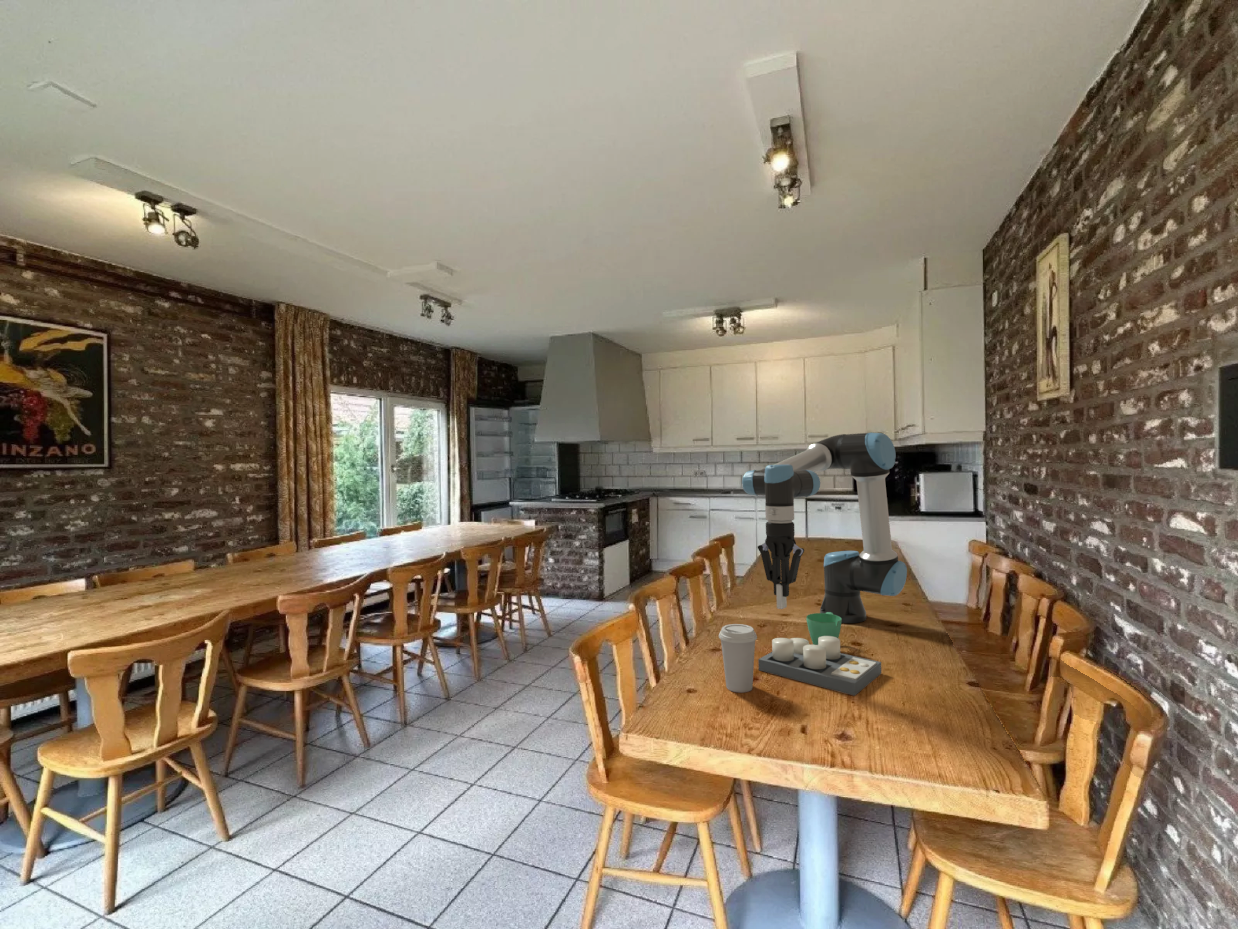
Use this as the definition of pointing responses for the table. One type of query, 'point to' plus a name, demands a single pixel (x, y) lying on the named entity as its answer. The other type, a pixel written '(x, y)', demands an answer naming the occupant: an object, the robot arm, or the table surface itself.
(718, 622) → the table surface
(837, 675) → the board
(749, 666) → the coffee cup
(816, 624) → the mug
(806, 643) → the button
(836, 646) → the button
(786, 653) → the button
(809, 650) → the button
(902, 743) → the table surface
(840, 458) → the robot arm
